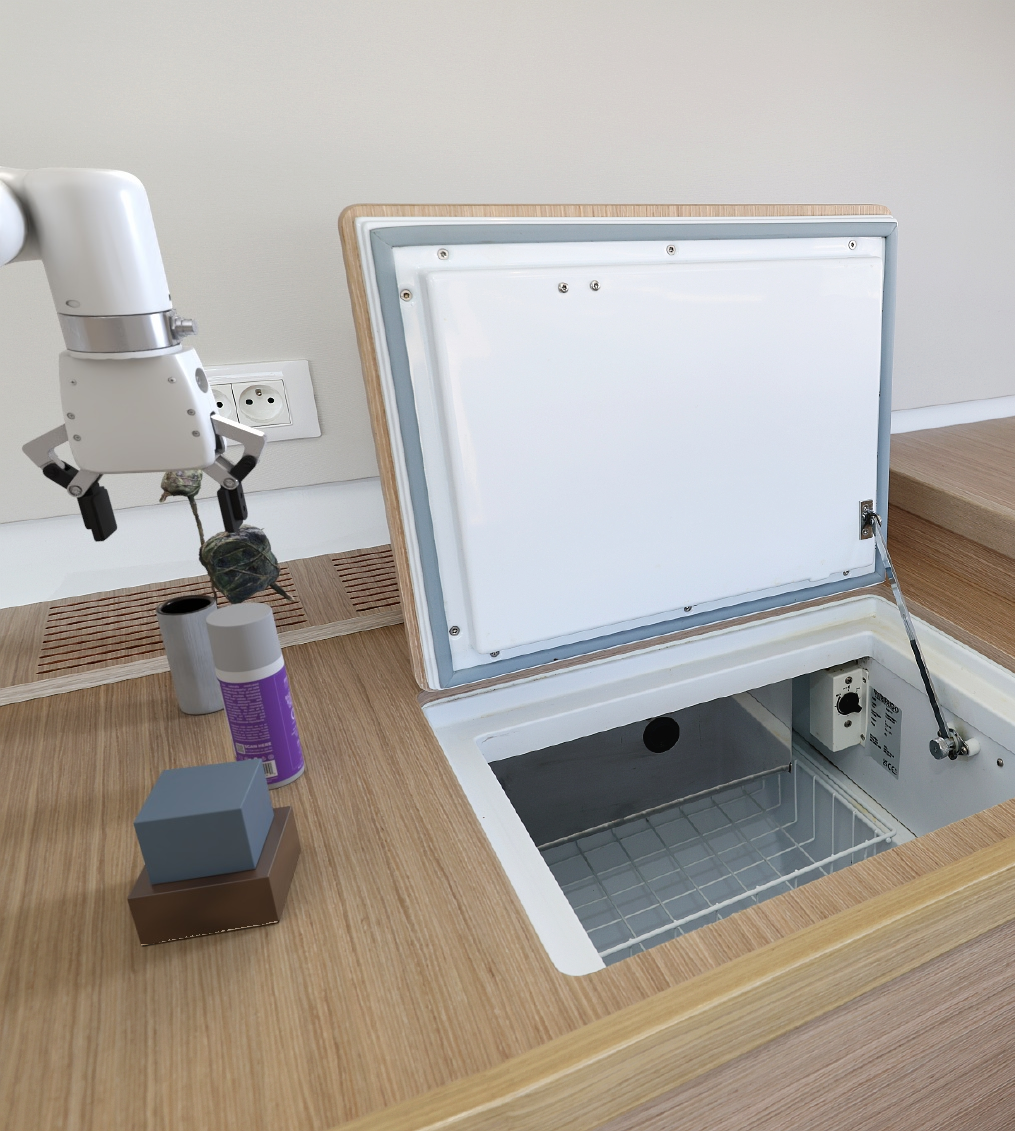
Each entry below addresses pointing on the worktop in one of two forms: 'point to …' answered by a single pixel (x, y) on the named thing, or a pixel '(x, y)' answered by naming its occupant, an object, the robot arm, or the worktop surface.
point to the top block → (205, 821)
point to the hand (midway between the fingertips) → (172, 531)
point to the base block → (220, 892)
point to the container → (255, 690)
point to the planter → (190, 652)
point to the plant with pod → (229, 548)
